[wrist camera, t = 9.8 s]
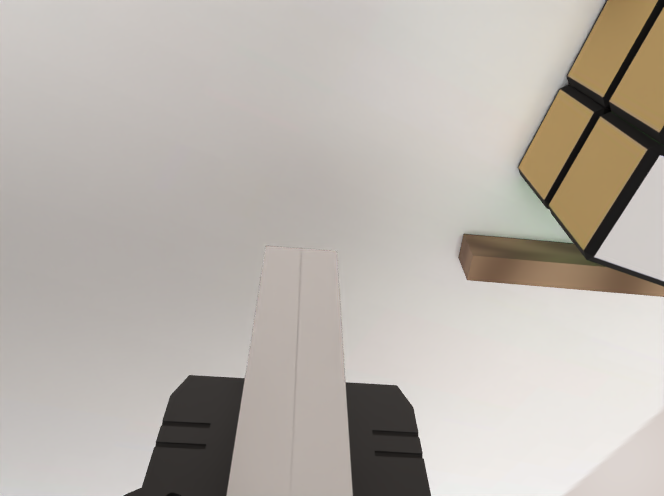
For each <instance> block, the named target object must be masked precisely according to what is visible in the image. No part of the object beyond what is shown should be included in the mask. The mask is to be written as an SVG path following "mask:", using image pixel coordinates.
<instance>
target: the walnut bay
mask: <svg viewBox="0 0 664 496" xmlns="http://www.w3.org/2000/svg"><path fill="white" fill-rule="evenodd" d="M459 260H460V263H461V265H462V268H463V270H464V273H465V276H466V278H467V280H472V281H484V282H496V283H508V284H520V285H531V286H543V287H555V288H567V289H579V290H590V291H602V292H614V293H626V294H638V295H649V296H661V297H664V287H663V286H660V285H658V284H655V283H652V282H649V281H646V280H643V279H640V278H637V277H634V276H631V275H629V274H626V273H623V272H620V271H617V270H614V269H611V268H608V267H605V266H603V265H600V264H597V263H594V262H591V261H588V260H586V259H585V257H584V256H583V255H582V253H581V252H580V251H579V249H578V248H577V247H576V245H575V244H571V243H559V242H548V241H537V240H525V239H514V238H502V237H491V236H480V235H468V234H464V235H463V240H462V244H461V249H460V253H459Z"/></svg>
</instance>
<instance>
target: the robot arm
mask: <svg viewBox="0 0 664 496" xmlns="http://www.w3.org/2000/svg"><path fill="white" fill-rule="evenodd" d="M124 496H431V493H430V488H429V483H428V478H427V473H426V468H425V463H424V459H422V449H421V444H420V439H419V437H418V429H417V424H416V419H415V414H414V409H413V407H412V405H411V404H410V402H409V401H408V400H407V398H406V397H405V396H404V394H403V393H402V392H401V390H400V389H399V388H398V386H397V385H380V384H363V383H346V382H345V368H344V353H343V337H342V322H341V306H340V291H339V275H338V260H337V251H331V250H317V249H304V248H290V247H276V246H266V248H265V254H264V260H263V267H262V273H261V279H260V286H259V292H258V299H257V305H256V311H255V318H254V324H253V330H252V337H251V343H250V349H249V356H248V362H247V368H246V375H245V378H229V377H212V376H195V375H189V376H188V377H187V378H186V379H185V381H184V382H183V383H182V384H181V385H180V386H179V387H178V388H177V389H176V390H175V391H174V392H173V393H172V394H171V396H170V398H169V402H168V405H167V408H166V411H165V415H164V418H163V423H162V426H161V427H160V431H159V434H158V437H157V440H156V447H154V450H153V453H152V456H151V460H150V463H149V466H148V469H147V472H146V476H145V479H144V482H143V485H142V488H140V489H137V490H135V491H133V492H130V493H128V494H126V495H124Z"/></svg>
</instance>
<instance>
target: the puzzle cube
mask: <svg viewBox="0 0 664 496" xmlns="http://www.w3.org/2000/svg"><path fill="white" fill-rule="evenodd" d="M567 77H568V81H569V84H570V85H571V86H570V85H568V86H566V87H564V88H561V89H560V90H559V92H558V94H557V96H556V98H555V100H554V101H553V103H552V105H551V107H550V109H549V111H548V113H547V115H546V116H545V118H544V120H543V122H542V124H541V126H540V128H539V130H538V132H537V133H536V135H535V137H534V139H533V141H532V143H531V145H530V147H529V148H528V150H527V152H526V154H525V156H524V158H523V160H522V162H521V163H520V165H519V167H518V168H519V171H520V174H521V176H522V177H523V178H524V180H525V181H526V182H527V184H528V185H529V186H530V187H531V189H532V190H533V191H534V193H535V194H536V195H537V196H538V198H539V199H540V200H541V202H542V203H543V204H544V205H545V207H546V208H547V209H550V211H551V214H552V215H553V217H554V218H555V219H556V220H557V222H558V223H559V224H560V226H561V227H562V228H563V230H564V231H565V232H566V234H567V235H568V236H569V238H570V239H571V240H572V242H573V243H574V244H575V245H576V247H577V248H578V249H579V251H580V252H581V253H582V255H583V256H584V257H585V259H586V260H588V261H591V262H594V263H597V264H600V265H603V266H605V267H608V268H611V269H614V270H617V271H620V272H623V273H626V274H629V275H631V276H634V277H637V278H640V279H643V280H646V281H649V282H652V283H655V284H658V285H660V286H663V287H664V0H607V2H606V4H605V6H604V8H603V10H602V12H601V14H600V16H599V17H598V19H597V21H596V23H595V25H594V27H593V29H592V31H591V32H590V34H589V36H588V38H587V40H586V42H585V44H584V46H583V47H582V49H581V51H580V53H579V55H578V57H577V59H576V61H575V62H574V64H573V66H572V68H571V70H570V72H569V74H568V76H567Z"/></svg>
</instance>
